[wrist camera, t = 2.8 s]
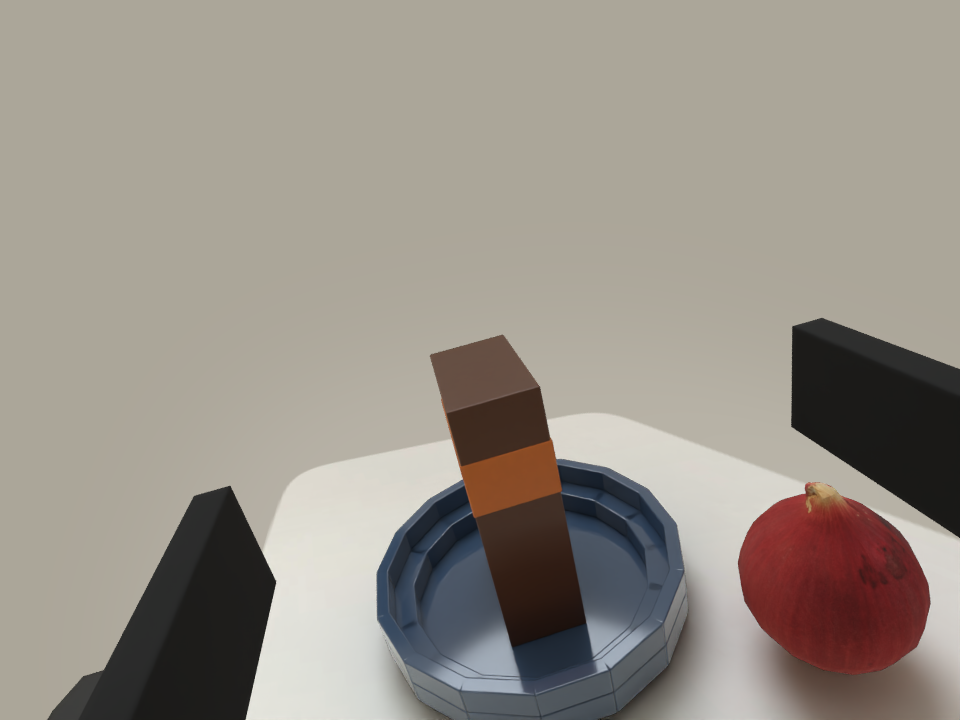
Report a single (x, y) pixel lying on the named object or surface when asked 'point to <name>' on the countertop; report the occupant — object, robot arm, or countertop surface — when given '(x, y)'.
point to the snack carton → (511, 485)
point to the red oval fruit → (834, 582)
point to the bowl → (555, 658)
